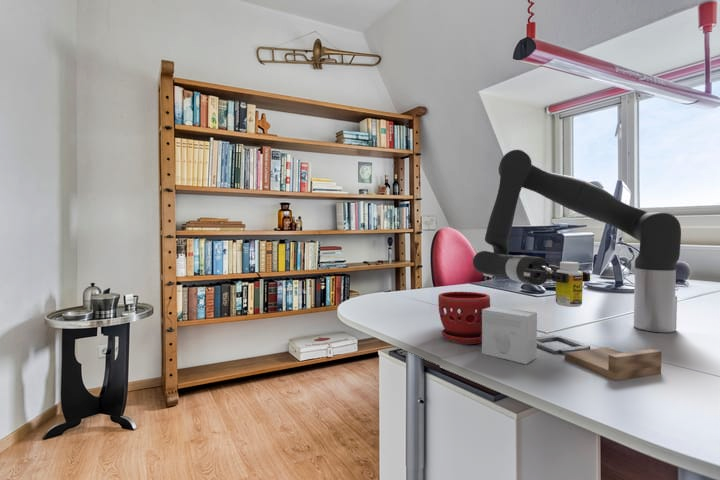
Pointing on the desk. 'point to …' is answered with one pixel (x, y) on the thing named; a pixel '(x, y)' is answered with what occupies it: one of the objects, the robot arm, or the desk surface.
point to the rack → (618, 362)
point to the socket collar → (563, 350)
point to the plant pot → (462, 316)
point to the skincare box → (509, 334)
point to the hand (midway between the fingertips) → (578, 277)
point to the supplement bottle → (570, 285)
